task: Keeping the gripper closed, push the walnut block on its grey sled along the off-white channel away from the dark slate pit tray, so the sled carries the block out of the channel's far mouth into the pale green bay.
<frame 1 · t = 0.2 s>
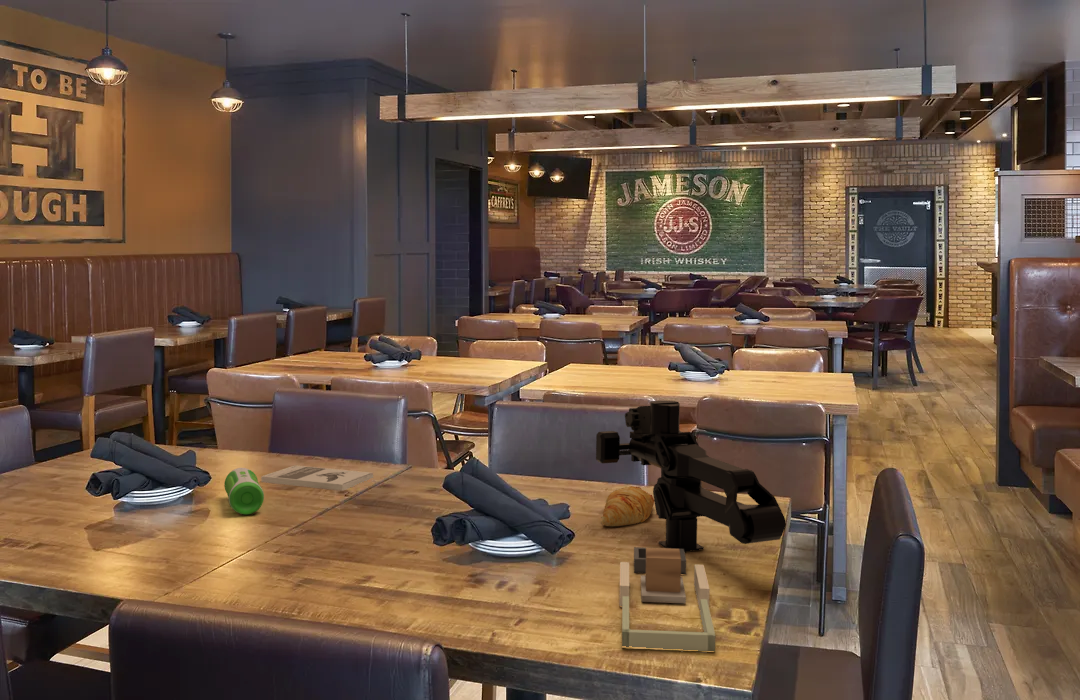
hand: (620, 438, 207), 17 cm above the table, tool horizontal, fingers open, 9 cm apart
croissant: (626, 519, 207), on the table
channel: (662, 597, 158), on the table
bay: (666, 631, 144), on the table
pit tray: (659, 567, 173), on the table
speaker: (244, 508, 214), on the table
sled: (662, 572, 160), point 4 cm above the table, slide at -2.0 cm
book: (317, 483, 239), on the table
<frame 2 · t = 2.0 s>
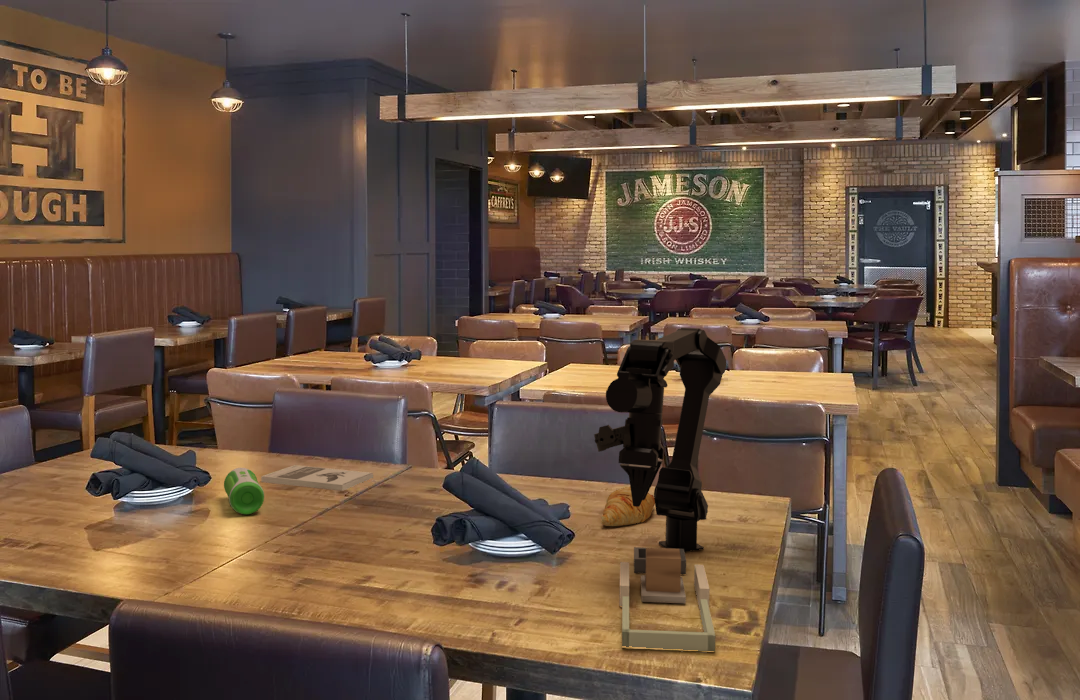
hand: (638, 503, 168), 13 cm above the table, tool pointing down, fingers open, 9 cm apart
nothing on the table moved.
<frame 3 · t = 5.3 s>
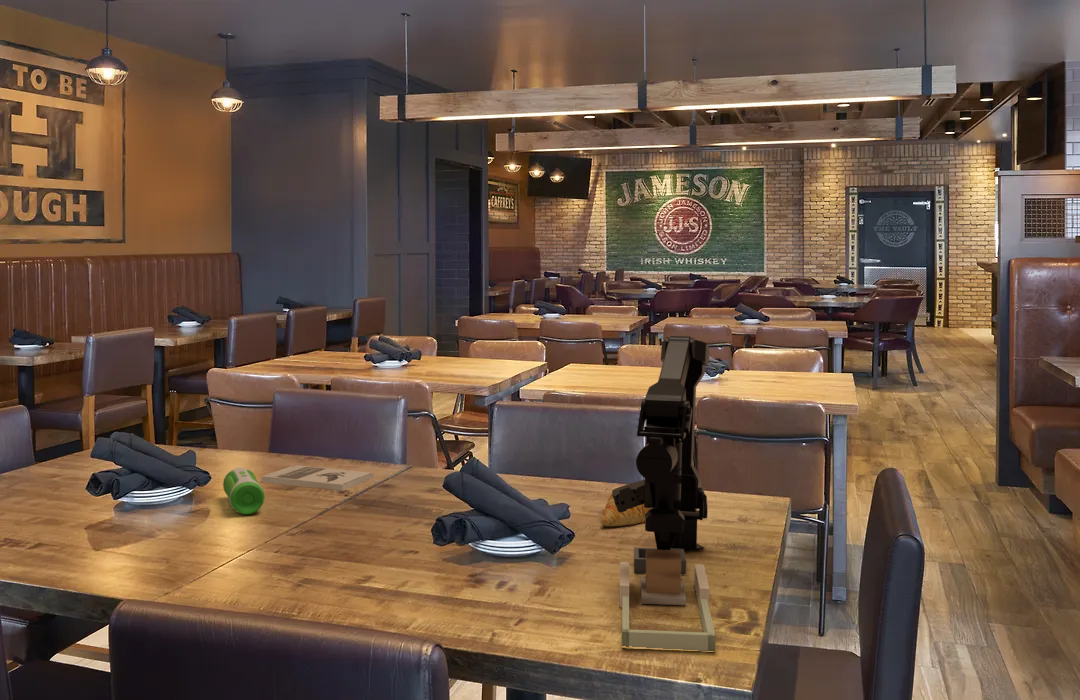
hand: (662, 559, 163), 5 cm above the table, tool pointing down, fingers closed
sled: (663, 574, 159), point 4 cm above the table, slide at -1.2 cm, touching gripper
everything else where it was.
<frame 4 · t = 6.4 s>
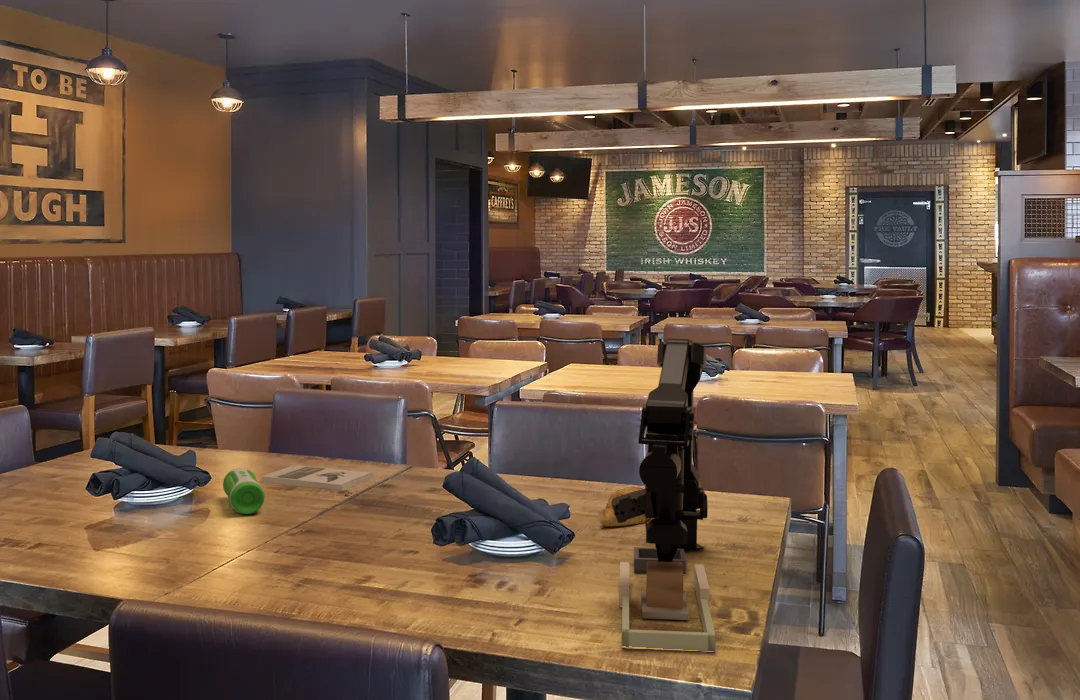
hand: (663, 571, 157), 5 cm above the table, tool pointing down, fingers closed
sled: (664, 587, 153), point 4 cm above the table, slide at 5.2 cm, touching gripper
everything else where it was.
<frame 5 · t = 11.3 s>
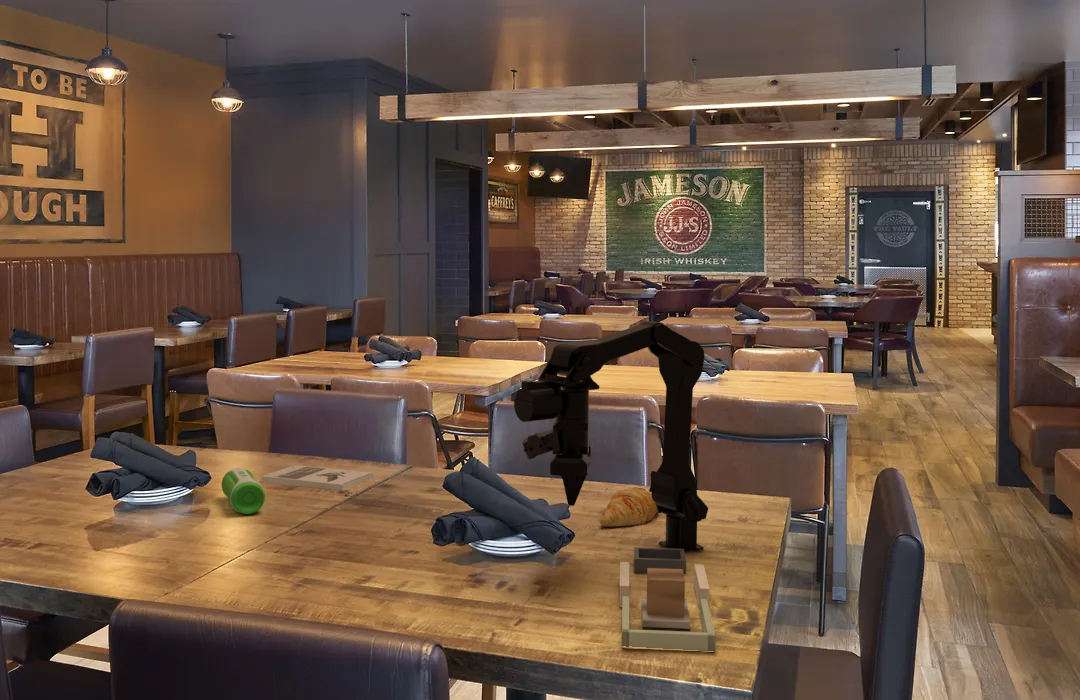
hand: (571, 505, 169), 12 cm above the table, tool pointing down, fingers closed
sled: (665, 594, 149), point 4 cm above the table, slide at 8.7 cm
at the end: sled slide at 8.7 cm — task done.
